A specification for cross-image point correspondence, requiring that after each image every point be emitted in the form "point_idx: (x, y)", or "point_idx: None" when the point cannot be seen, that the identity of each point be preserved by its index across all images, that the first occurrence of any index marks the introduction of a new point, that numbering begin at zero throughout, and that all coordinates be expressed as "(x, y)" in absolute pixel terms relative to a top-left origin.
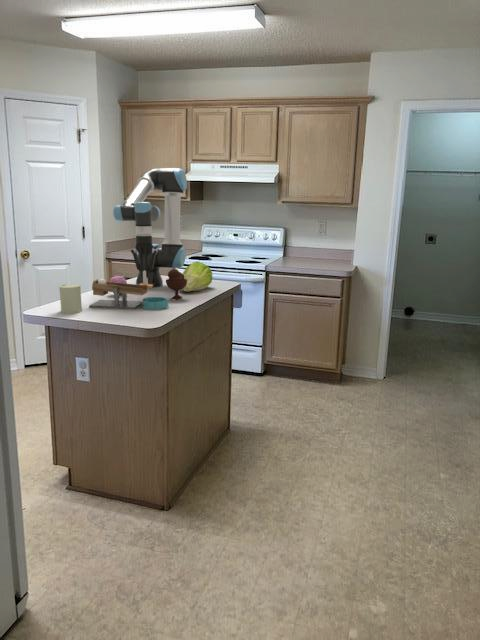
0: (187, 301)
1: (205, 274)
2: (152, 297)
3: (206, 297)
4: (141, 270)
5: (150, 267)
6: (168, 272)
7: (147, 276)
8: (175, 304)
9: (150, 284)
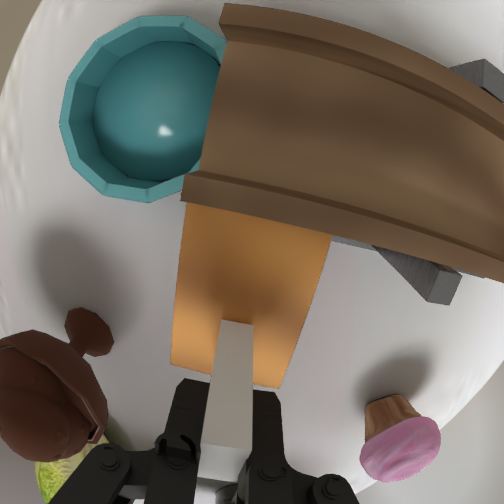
0: (29, 263)
1: (35, 464)
2: (169, 181)
3: (4, 331)
4: (274, 464)
5: (102, 478)
6: (56, 449)
7: (192, 392)
8: (59, 189)
9: (191, 361)
